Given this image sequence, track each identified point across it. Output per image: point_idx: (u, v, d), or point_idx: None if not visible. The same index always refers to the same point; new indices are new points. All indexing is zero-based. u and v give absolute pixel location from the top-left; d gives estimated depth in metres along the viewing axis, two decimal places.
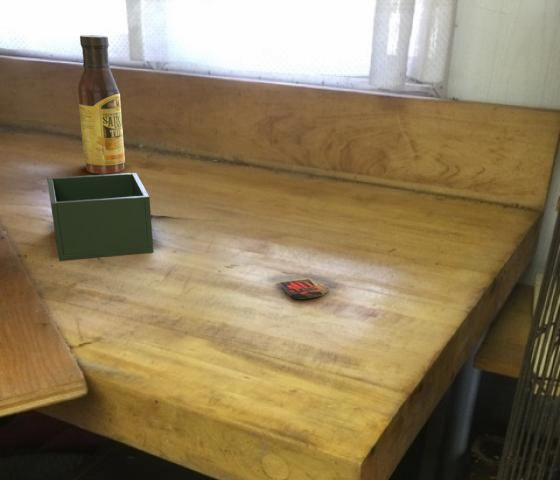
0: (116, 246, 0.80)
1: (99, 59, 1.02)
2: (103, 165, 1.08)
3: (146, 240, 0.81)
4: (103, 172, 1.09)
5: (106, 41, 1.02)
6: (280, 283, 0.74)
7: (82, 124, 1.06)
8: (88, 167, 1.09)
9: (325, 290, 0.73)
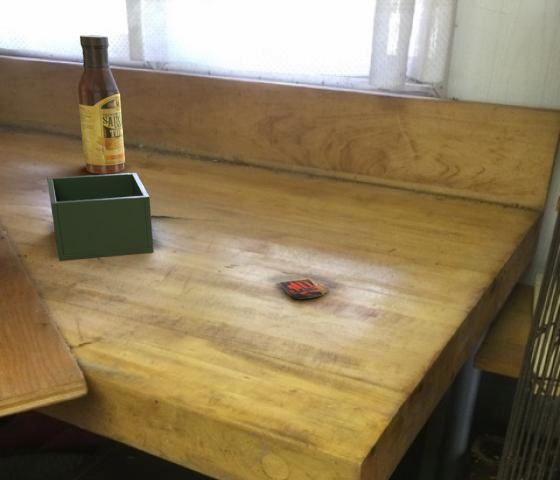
0: (116, 246, 0.80)
1: (99, 59, 1.02)
2: (103, 165, 1.08)
3: (146, 240, 0.81)
4: (103, 172, 1.09)
5: (106, 41, 1.02)
6: (280, 283, 0.74)
7: (82, 124, 1.06)
8: (88, 167, 1.09)
9: (325, 290, 0.73)
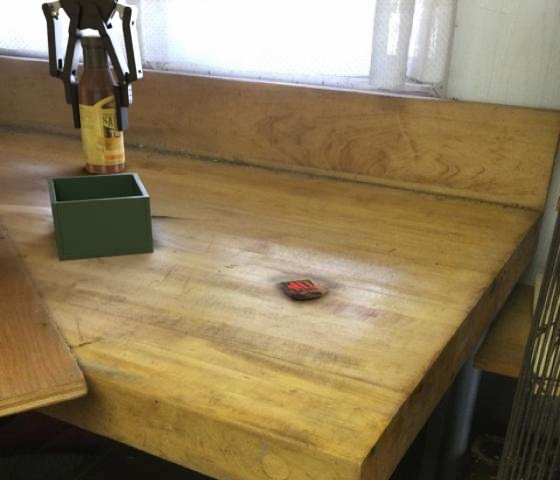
0: (116, 246, 0.80)
1: (100, 59, 1.02)
2: (103, 165, 1.08)
3: (146, 240, 0.81)
4: (103, 172, 1.09)
5: None
6: (280, 283, 0.74)
7: (82, 124, 1.06)
8: (88, 167, 1.09)
9: (325, 290, 0.73)
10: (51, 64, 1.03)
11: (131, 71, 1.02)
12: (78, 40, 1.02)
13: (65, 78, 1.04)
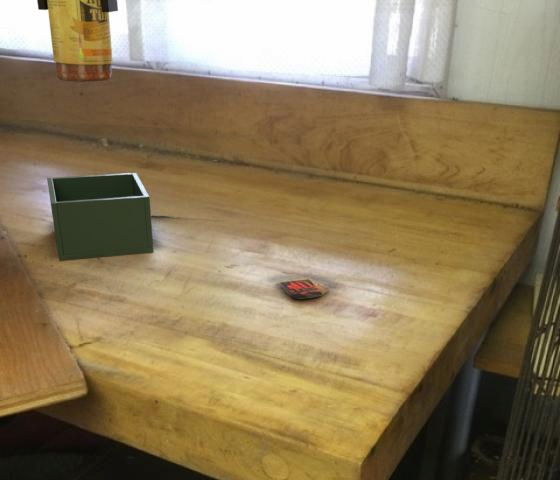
0: (116, 246, 0.80)
1: None
2: (81, 65, 0.74)
3: (146, 240, 0.81)
4: (81, 75, 0.74)
5: None
6: (280, 283, 0.74)
7: (49, 1, 0.72)
8: (59, 69, 0.75)
9: (325, 290, 0.73)
10: None
11: None
12: None
13: None
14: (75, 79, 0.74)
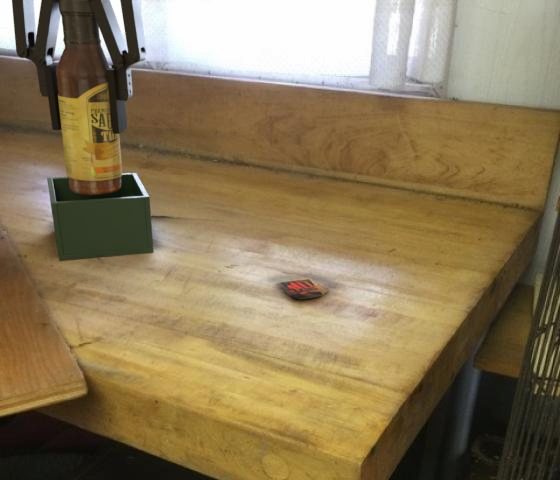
0: (116, 246, 0.80)
1: (86, 32, 0.72)
2: (92, 181, 0.78)
3: (146, 240, 0.81)
4: (92, 190, 0.78)
5: None
6: (280, 283, 0.74)
7: (62, 123, 0.76)
8: (72, 183, 0.79)
9: (325, 290, 0.73)
10: (18, 39, 0.73)
11: (131, 49, 0.72)
12: (55, 4, 0.72)
13: (38, 59, 0.74)
14: (87, 193, 0.79)
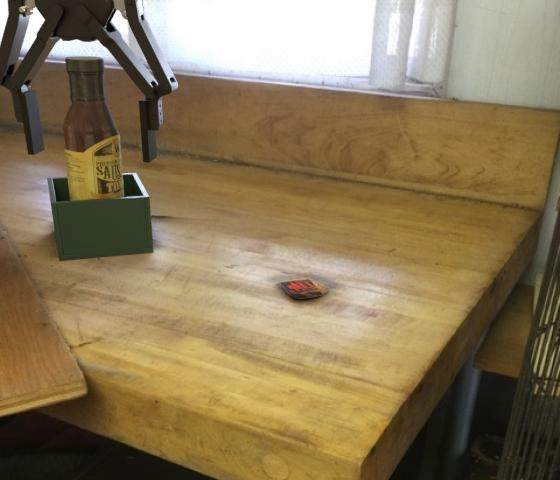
0: (116, 246, 0.80)
1: (92, 90, 0.75)
2: None
3: (146, 240, 0.81)
4: None
5: (101, 65, 0.75)
6: (280, 283, 0.74)
7: (69, 175, 0.79)
8: None
9: (325, 290, 0.73)
10: None
11: (161, 82, 0.73)
12: (47, 48, 0.74)
13: (13, 86, 0.76)
14: None
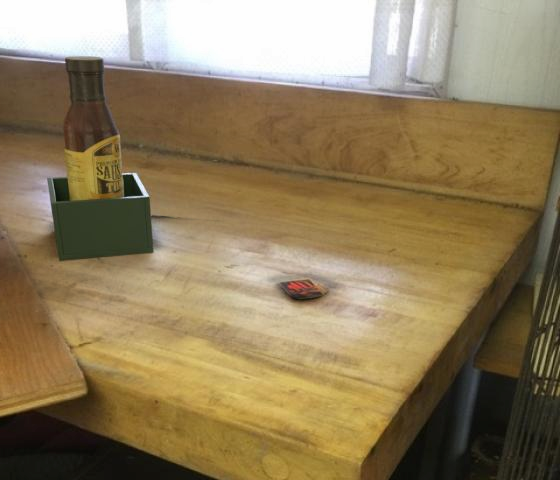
0: (116, 246, 0.80)
1: (92, 90, 0.75)
2: None
3: (146, 240, 0.81)
4: None
5: (101, 65, 0.75)
6: (280, 283, 0.74)
7: (69, 175, 0.79)
8: None
9: (325, 290, 0.73)
10: None
11: None
12: None
13: None
14: None
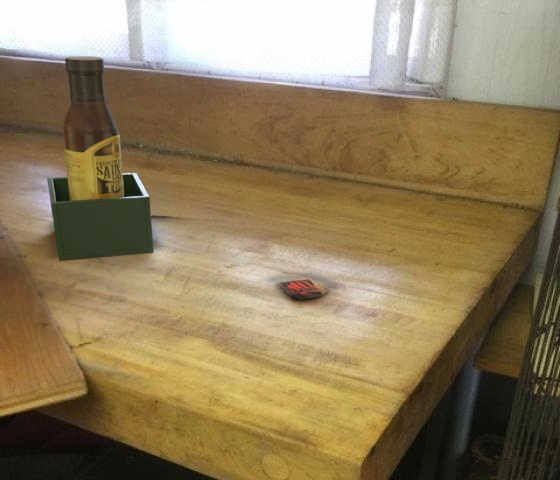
0: (116, 246, 0.80)
1: (92, 90, 0.75)
2: None
3: (146, 240, 0.81)
4: None
5: (101, 65, 0.75)
6: (280, 283, 0.74)
7: (69, 175, 0.79)
8: None
9: (325, 290, 0.73)
10: None
11: None
12: None
13: None
14: None
